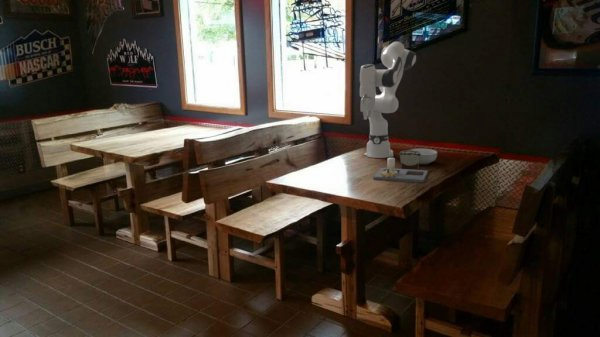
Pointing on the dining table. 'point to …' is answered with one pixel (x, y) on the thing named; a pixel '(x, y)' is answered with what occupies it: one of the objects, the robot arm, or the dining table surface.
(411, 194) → the dining table surface
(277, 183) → the dining table surface
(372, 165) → the dining table surface
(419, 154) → the food container
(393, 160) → the gear shaft
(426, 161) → the cereal bowl
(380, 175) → the gear board
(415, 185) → the dining table surface
